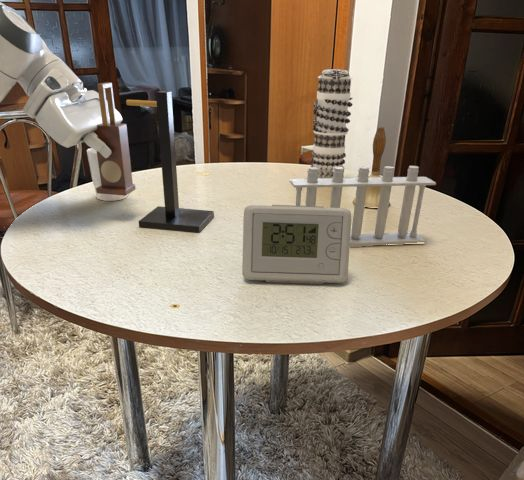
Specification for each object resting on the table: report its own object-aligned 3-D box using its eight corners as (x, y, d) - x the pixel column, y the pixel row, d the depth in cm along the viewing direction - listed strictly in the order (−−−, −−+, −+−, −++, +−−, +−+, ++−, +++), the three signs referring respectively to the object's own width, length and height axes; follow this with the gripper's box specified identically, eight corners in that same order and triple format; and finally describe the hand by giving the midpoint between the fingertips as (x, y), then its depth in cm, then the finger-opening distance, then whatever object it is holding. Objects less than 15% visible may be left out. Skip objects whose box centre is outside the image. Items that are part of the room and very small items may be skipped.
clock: (96, 193, 98) (80, 84, 88) (107, 187, 102) (93, 81, 92) (126, 195, 97) (113, 85, 87) (136, 189, 101) (125, 83, 91)
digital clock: (237, 282, 77) (236, 212, 72) (251, 260, 85) (252, 195, 79) (344, 294, 75) (352, 223, 69) (349, 271, 82) (357, 205, 76)
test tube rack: (414, 236, 97) (428, 163, 90) (424, 244, 93) (439, 169, 86) (285, 240, 93) (289, 165, 86) (290, 249, 89) (294, 171, 82)
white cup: (101, 191, 118) (94, 145, 112) (134, 193, 117) (129, 147, 112) (88, 200, 111) (80, 152, 106) (123, 202, 111) (117, 154, 105)
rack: (129, 226, 98) (113, 92, 85) (149, 211, 106) (137, 87, 94) (199, 232, 96) (193, 96, 83) (214, 216, 104) (210, 90, 92)
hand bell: (390, 210, 110) (403, 131, 102) (352, 207, 112) (361, 128, 103) (389, 199, 117) (401, 124, 109) (353, 197, 119) (361, 122, 110)
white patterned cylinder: (351, 181, 131) (363, 70, 117) (330, 188, 125) (341, 72, 111) (322, 175, 136) (331, 68, 122) (301, 181, 130) (307, 69, 116)
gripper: (77, 99, 103) (128, 153, 106) (17, 112, 86) (80, 176, 89) (94, 74, 100) (147, 131, 103) (35, 83, 82) (101, 151, 86)
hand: (116, 152), depth 96 cm, fingers closed on clock, 3 cm apart
